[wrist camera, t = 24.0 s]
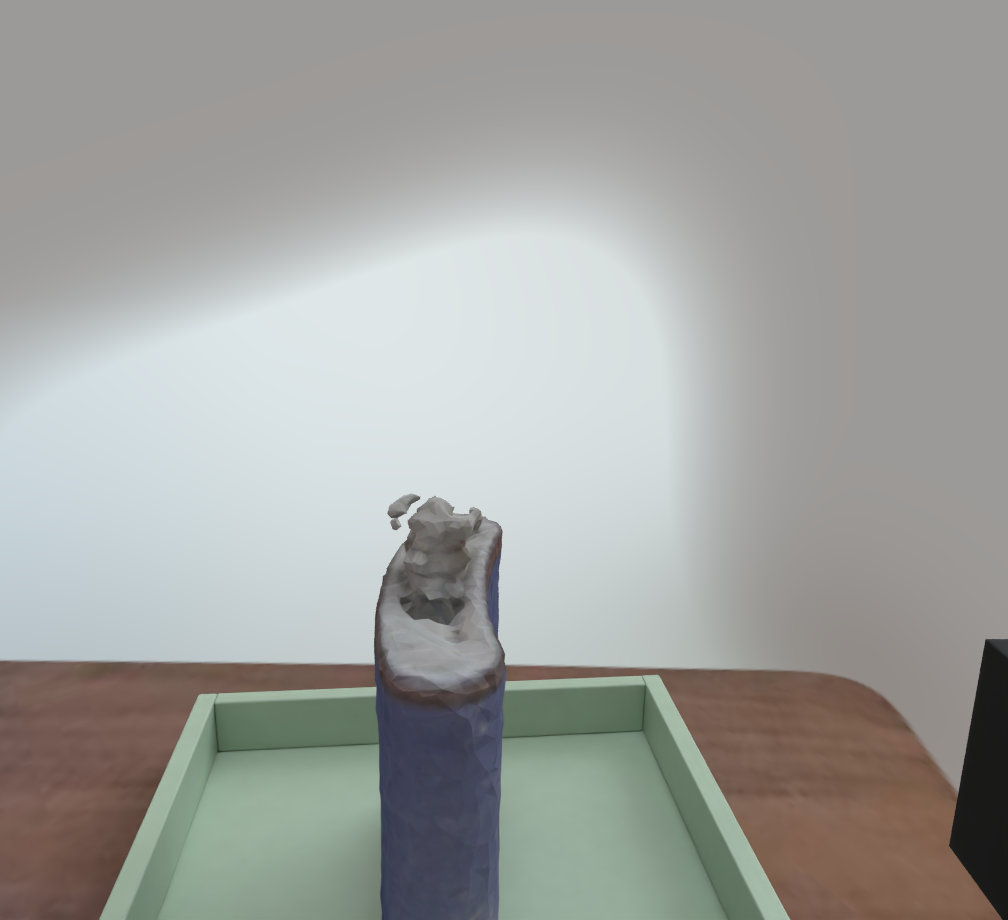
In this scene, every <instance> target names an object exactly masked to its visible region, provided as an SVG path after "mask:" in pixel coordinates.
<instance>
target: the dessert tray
mask: <svg viewBox="0 0 1008 920" xmlns="http://www.w3.org/2000/svg"><path fill="white" fill-rule="evenodd" d="M376 688H377V687H366V688H342V689H318V690H295V691H271V692H247V693H223V694H218V695H217V694H200V695H199V696H198V698H197V700H196V702H195V705H194V707H193V709H192V711H191V714H190V716H189V718H188V720H187V723H186V725H185V727H184V729H183V732H182V734H181V736H180V738H179V741H178V743H177V745H176V747H175V750H174V752H173V754H172V756H171V759H170V761H169V763H168V765H167V768H166V770H165V772H164V774H163V777H162V779H161V781H160V783H159V786H158V788H157V790H156V792H155V795H154V797H153V799H152V802H151V804H150V806H149V808H148V811H147V813H146V815H145V817H144V820H143V822H142V824H141V826H140V829H139V831H138V833H137V835H136V838H135V840H134V842H133V844H132V847H131V849H130V851H129V853H128V856H127V858H126V860H125V862H124V865H123V867H122V869H121V871H120V874H119V876H118V878H117V880H116V883H115V885H114V887H113V889H112V892H111V894H110V896H109V898H108V901H107V903H106V905H105V907H104V910H103V912H102V914H101V917H100V919H99V920H382V908H381V900H380V888H381V798H380V791H379V776H380V773H379V735H378V720H377V715H376ZM502 707H503V718H504V726H503V731H502V763H501V800H500V811H499V839H500V851H499V912H498V920H790V919H789V917H788V915H787V913H786V911H785V910H784V908H783V906H782V904H781V902H780V900H779V898H778V897H777V895H776V893H775V891H774V889H773V887H772V885H771V883H770V882H769V880H768V878H767V876H766V874H765V872H764V870H763V869H762V867H761V865H760V863H759V861H758V859H757V857H756V856H755V854H754V852H753V850H752V848H751V846H750V844H749V842H748V841H747V839H746V837H745V835H744V833H743V831H742V829H741V828H740V826H739V824H738V822H737V820H736V818H735V816H734V815H733V813H732V811H731V809H730V807H729V805H728V803H727V802H726V800H725V798H724V796H723V794H722V792H721V790H720V788H719V787H718V785H717V783H716V781H715V779H714V777H713V775H712V774H711V772H710V770H709V768H708V766H707V764H706V762H705V761H704V759H703V757H702V755H701V753H700V751H699V749H698V748H697V746H696V744H695V742H694V740H693V738H692V736H691V734H690V733H689V731H688V729H687V727H686V725H685V723H684V721H683V720H682V718H681V716H680V714H679V712H678V710H677V708H676V707H675V705H674V703H673V701H672V699H671V697H670V695H669V694H668V692H667V690H666V688H665V686H664V684H663V682H662V680H661V679H660V677H659V675H644V676H642V677H641V676H627V677H603V678H580V679H556V680H532V681H508V682H506V683H505V691H504V699H503V706H502Z"/></svg>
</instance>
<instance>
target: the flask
mask: <svg viewBox="0 0 1008 920" xmlns="http://www.w3.org/2000/svg"><path fill="white" fill-rule="evenodd" d="M419 499H420V497H419V496H417V495H414V494H408V495H405V496H403V497H401V498H400V499H398V500H397V501H395V502H394V503H393V504H391V505H390V506H389V510H388V515H389V516H390V517H391V518H396V519H393V520H391V526H392V528H393V529H394V530H397V529H398V528H400V527H401V524H400V522H399V520H398V517H400V516H401V515H403V514H406V513H407V510H408V509H409V507H410V505H411V504H412V503H414V502H416V501H418V500H419ZM453 510H454V507H452V506H451V505H450V504H449V503H448V502H447V501H445V500H443V499H442V498H438V497H436V496H434V497H432V498H429V499H428V501H427V502H426V503H425V504H423V505H422V506H421V507H419V508H418V509H417V513H415V514H414V515H413V516H412V517H411V518H410V519H409V520H408V525H409V528H410V529H411V531H410V533H409V535H408V537H407V540H406V541H405V542H404V543H403V544H402V545H401V546H400V548H399V549H398V551H397V552H396V554H395V556H394V557H393V559H392V560H391V562H390V564H389V566H388V568H387V572H386V574H385V575H384V576H383V582H382V586H381V589H380V595H379V599H378V602H377V607H376V615H375V638H374V653H375V681H376V685H377V688H376V715H377V720H378V735H379V773H380V776H379V791H380V798H381V888H380V900H381V908H382V920H498V912H499V851H500V839H499V811H500V800H501V763H502V731H503V726H504V718H503V707H502V706H503V699H504V691H505V683H506V667H505V663H504V658H505V653H504V650H503V648H502V646H501V644H500V642H499V640H498V621H499V608H498V597H499V596H498V595H499V593H498V581H499V564H500V558H501V548H502V529H501V526H499V524H498V523H497V522H494V521H490V520H488V519H487V518H486V517H482V516H481V511H480V510H479V509H477V508H475V507H472V508H470V510H469V511H470V512H469V514H455V513H453Z"/></svg>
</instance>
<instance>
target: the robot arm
mask: <svg viewBox="0 0 1008 920" xmlns="http://www.w3.org/2000/svg"><path fill="white" fill-rule="evenodd" d="M949 846H950V848H951V849H952V850H953V852H954V853H955V855H956V856H957V857H958V859H959V860H960V861H961V863H962V864H963V866H964V867H965V868H966V870H967V871H968V872H969V874H970V875H971V877H972V878H973V879H974V881H975V882H976V883H977V885H978V886H979V888H980V889H981V890H982V892H983V893H984V895H985V896H986V897H987V899H988V900H989V901H990V903H991V904H992V906H993V907H994V908H995V910H996V911H997V912H998V914H999V915H1000V917H1001V918H1002V919H1003V920H1008V639H986V640H985V646H984V651H983V657H982V663H981V668H980V674H979V680H978V686H977V691H976V697H975V702H974V708H973V714H972V719H971V725H970V731H969V736H968V742H967V748H966V754H965V759H964V765H963V770H962V776H961V782H960V787H959V793H958V799H957V804H956V810H955V816H954V821H953V827H952V833H951V838H950V844H949Z"/></svg>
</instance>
